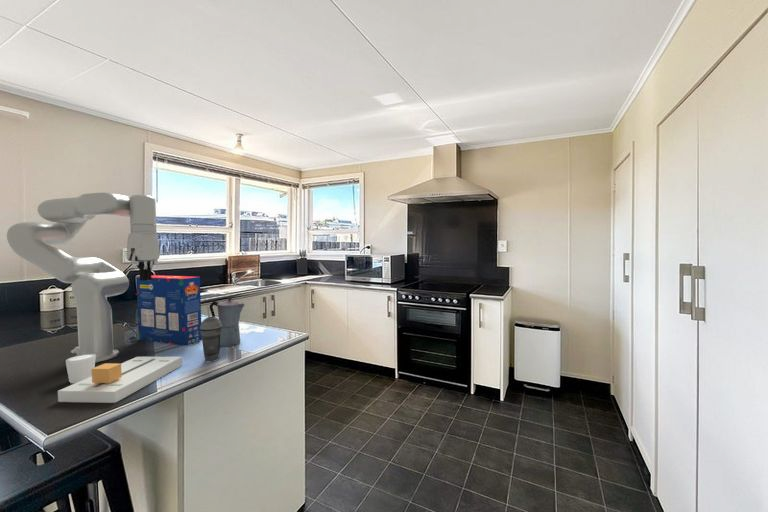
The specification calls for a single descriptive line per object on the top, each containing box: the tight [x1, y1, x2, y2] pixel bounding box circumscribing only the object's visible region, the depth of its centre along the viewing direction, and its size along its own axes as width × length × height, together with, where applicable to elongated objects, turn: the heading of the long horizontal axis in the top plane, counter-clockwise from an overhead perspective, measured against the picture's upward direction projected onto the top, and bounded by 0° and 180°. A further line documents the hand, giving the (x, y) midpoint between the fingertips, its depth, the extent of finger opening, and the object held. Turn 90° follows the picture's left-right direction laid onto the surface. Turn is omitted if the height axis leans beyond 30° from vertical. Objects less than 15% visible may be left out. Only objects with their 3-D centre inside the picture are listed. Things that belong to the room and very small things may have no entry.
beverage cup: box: [200, 304, 222, 362], centre depth 116 cm, size 7×7×20 cm
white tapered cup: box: [65, 354, 96, 384], centre depth 100 cm, size 7×7×7 cm
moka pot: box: [209, 296, 246, 347], centre depth 134 cm, size 10×15×20 cm, turn 89°
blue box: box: [135, 274, 202, 347], centre depth 140 cm, size 28×8×28 cm, turn 71°
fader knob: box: [92, 362, 122, 383], centre depth 91 cm, size 5×4×4 cm
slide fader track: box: [57, 356, 183, 404], centre depth 98 cm, size 16×26×3 cm, turn 177°
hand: (145, 280), depth 116 cm, fingers closed
